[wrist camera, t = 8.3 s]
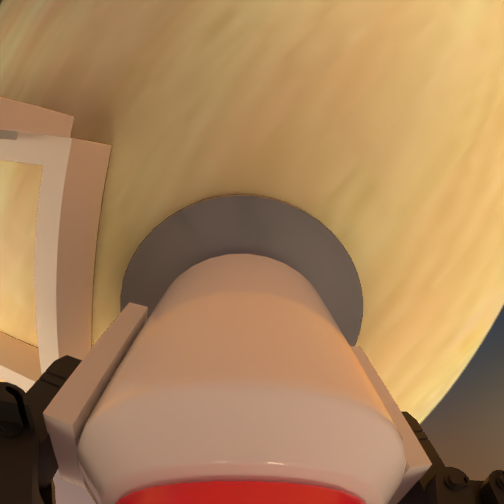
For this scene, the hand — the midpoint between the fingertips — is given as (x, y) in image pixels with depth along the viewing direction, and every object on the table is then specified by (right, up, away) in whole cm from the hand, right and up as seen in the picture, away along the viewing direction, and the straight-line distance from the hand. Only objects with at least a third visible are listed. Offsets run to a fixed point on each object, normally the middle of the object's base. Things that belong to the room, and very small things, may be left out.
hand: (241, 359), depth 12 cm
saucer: (0, +1, +4) cm, 4 cm away
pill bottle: (0, 0, +2) cm, 2 cm away
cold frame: (-19, +5, +3) cm, 19 cm away
